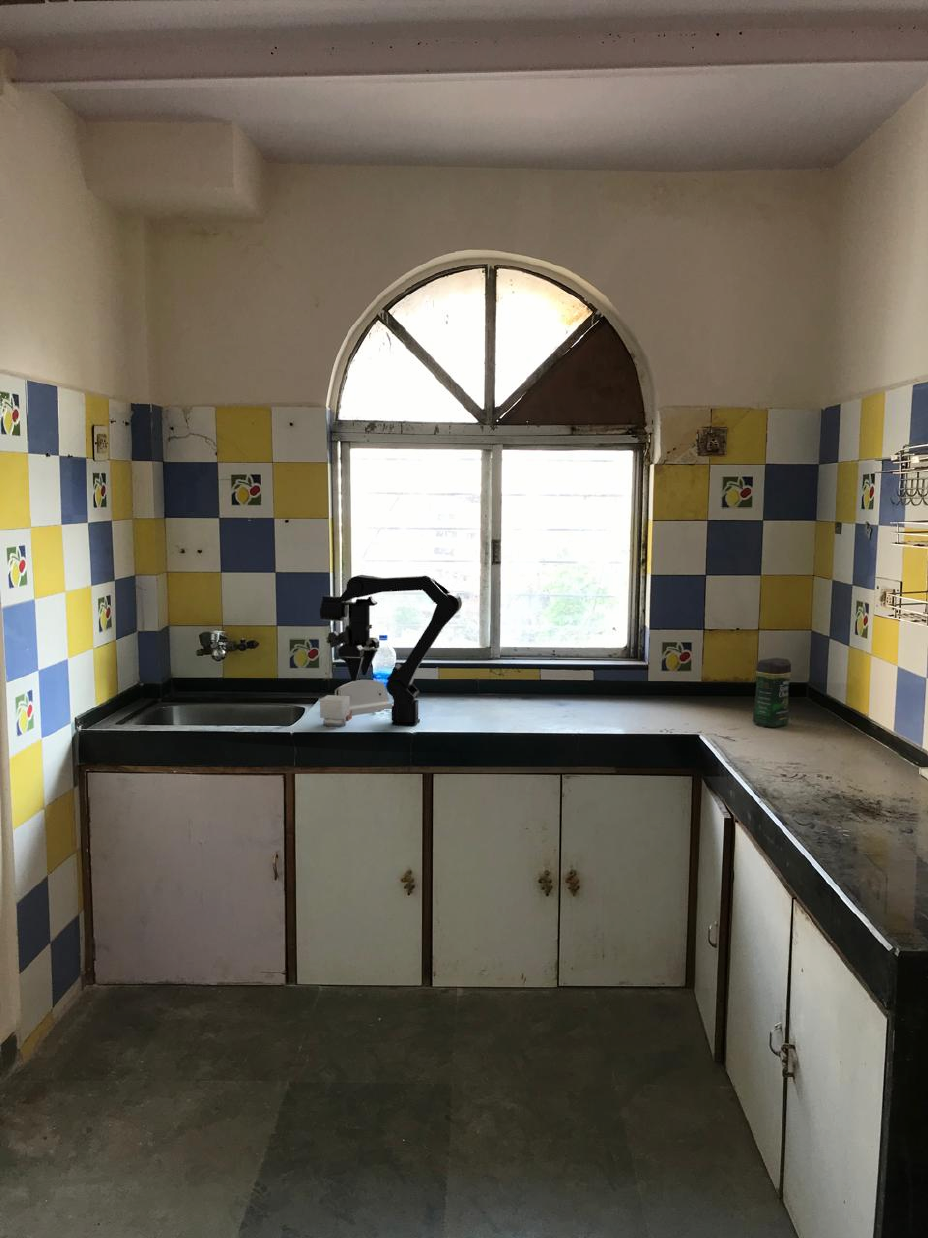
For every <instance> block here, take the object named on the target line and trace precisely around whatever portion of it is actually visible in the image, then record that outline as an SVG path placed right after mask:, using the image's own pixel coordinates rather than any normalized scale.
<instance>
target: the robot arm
mask: <svg viewBox="0 0 928 1238" xmlns="http://www.w3.org/2000/svg"><path fill="white" fill-rule="evenodd" d="M408 591H409V592H411V591H423V592H424V593H425V594H426V595H427V596H428V598H429V599H430V600H431V601H432V602H433V603H434V604H436V606H435V608H434V611H433V614H432V616H431V620H430V621H429V623H428V625H427V627H426V628H425V630H424V631H423V633H422V635H421V636H420V638H419V639H418V641H417V643H416V644H415V646H414V647H413V649H412V651H411V652H410V654H409V655H408V657H407V659H406V660H405V662H404V663H403V664H402V665H401V664H400V663H397V664H396V665H395V666H393V668H392V671H391V673H390V675H389V676H388V677H386V680H387V681H386V685H385V689H386V692H387V694H389V695H390V696H391V698H392V699H393V705H392V710H391V721H392V722H391V725H396V726H412V727H413V726H416V725H417V724H418V723H420V721H421V719H420V718H419V699H417V698H418V696H419V693H420V690H419V689H418V688H417V687H416V686H415V685H414V684H413V682H414V679H415V677H416V674H417V672H418V669H419V667H420V665H421V663H422V662H423V660H424V659H425V657H426V655H427V654H428V652H429V650H430V649H431V648H432V646H433V645H434V643H435V641H436V639H437V638H438V636H439V635H440V633H441V632H442V630H443V629H444V627H445V626H446V625H448V623H449V622H450V620H451V619H452V618H453V617H455V615H456V614H457V613H458V612H459V611H460V610H461V609H462V606H463V602H462V598H461V596H460V595H459V594H458V593H456V592H451V591H450V590H448V589H447V588H446V586H444V585H442V584H441V583H440V582H438V581H437V580H436V579H435V578H434V577H433V576H432V575H430V574H425V575H418V576H417V575H416V576H399V577H398V576H397V577H379V576H374V575H365V574H359V575H355V576H352V577H350V578H349V579H348V581H347V582H346V589H345V591H343V593H342V594H341V595H340V596H332V595H323V596H322V600H321V604H320V608H319V617H320V620H321V621H328V622H333V621H335V622H343V621H344V619H345V618H348V625H345V627H344V629H345V630H344V631H341V632H337V631H335V630H334V631H330V632H329V633H328V635H327V637H326V643H327V644H329V646H330V648H331V649H332V648H335V647H337V646H339V647H338V648H337V656H338V657H339V659H341V660H342V661H344V662H345V664H346V666H347V667H346V668H348V669H347V670H348V673H349V676H350V677H349V678H350V679H351V682H353V681H357V680H358V677H359V674H360V673H359V672H360V670H361V675H362V676H367V675H368V672H369V670H370V668H371V665H372V663H373V660H374V658H375V656H376V654H377V652H378V651H379V650H378V649H379V648H380V640H379V639H378V638H377V637H370V636H371V634H370V633H371V632H370V631H371V629H372V628H373V625H372V624H371V623H370V619H371V618H370V617H371V616H370V615H371V614H370V613H371V611H370V609H371V608H370V607H374V606H377V604H378V602H377V601H376V600H375V599H374V598H373V597H372V595H375V594H379V593H387V592H388V593H390V592H408ZM362 597H367V598H362ZM355 598H356V600H355V601H350V600H353V599H355ZM342 644H343V645H342ZM340 645H341V646H340Z"/></svg>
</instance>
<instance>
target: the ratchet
mask: <svg viewBox="0 0 928 1238" xmlns="http://www.w3.org/2000/svg"><path fill="white" fill-rule="evenodd" d="M352 717H353V715H352V711H350V714H349V715H348V716H346V717H345V718H343V719H331V718H322V719H323V723H322V724H323V727H325V728H329V727H338V728H343V727H346V726H347V722H348V721H350V720H351V719H352Z"/></svg>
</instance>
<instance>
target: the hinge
mask: <svg viewBox="0 0 928 1238" xmlns="http://www.w3.org/2000/svg"><path fill="white" fill-rule="evenodd" d="M334 695H336V696H350V711H352V716H356V715H363V714H371V713H372V714H373V713H377V712H376V711H379V712H381V711H380V710H384V709H392V706H393V705H392V702H391V701H390V699H389V696H388V691H387V688H386V685H385V683H384V682H382V681H379V680H374V679H360V680H359V679H356V681H350V682H347V683H344V684H342V685H341V686H339V687H337V688H336V689H335V690H334Z"/></svg>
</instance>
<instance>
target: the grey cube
mask: <svg viewBox="0 0 928 1238" xmlns="http://www.w3.org/2000/svg"><path fill="white" fill-rule="evenodd" d="M349 714H350V696H336V695H335V694H333V695H332V694H331V695H330V694H327V695H325V696H323V697H322V698H320V700H319V718H320V719H323V718H331V719H343V718H345V717H346V716H348V715H349Z"/></svg>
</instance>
